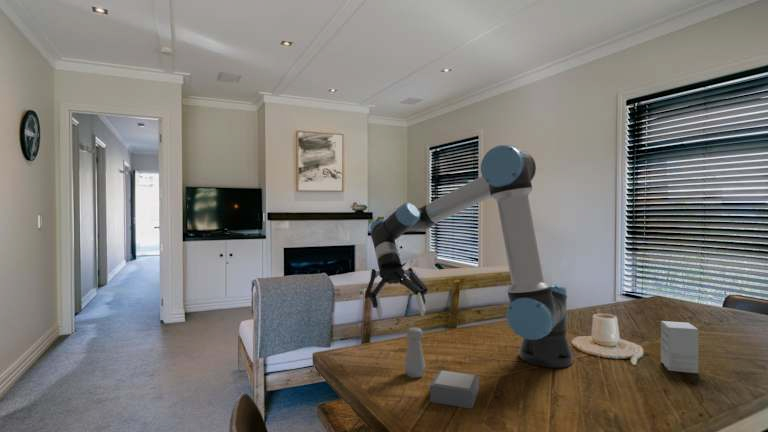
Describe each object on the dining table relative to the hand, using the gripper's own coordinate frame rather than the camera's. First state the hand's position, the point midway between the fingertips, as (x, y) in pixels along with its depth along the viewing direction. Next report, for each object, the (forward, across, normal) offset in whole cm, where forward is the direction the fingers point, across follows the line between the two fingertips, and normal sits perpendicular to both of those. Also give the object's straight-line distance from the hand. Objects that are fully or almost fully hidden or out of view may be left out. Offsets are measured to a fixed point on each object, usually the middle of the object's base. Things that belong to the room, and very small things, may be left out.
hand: (402, 314), depth 124 cm
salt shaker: (+17, 0, -3) cm, 18 cm away
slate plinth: (+28, -5, +8) cm, 29 cm away
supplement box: (+29, -76, +8) cm, 81 cm away
